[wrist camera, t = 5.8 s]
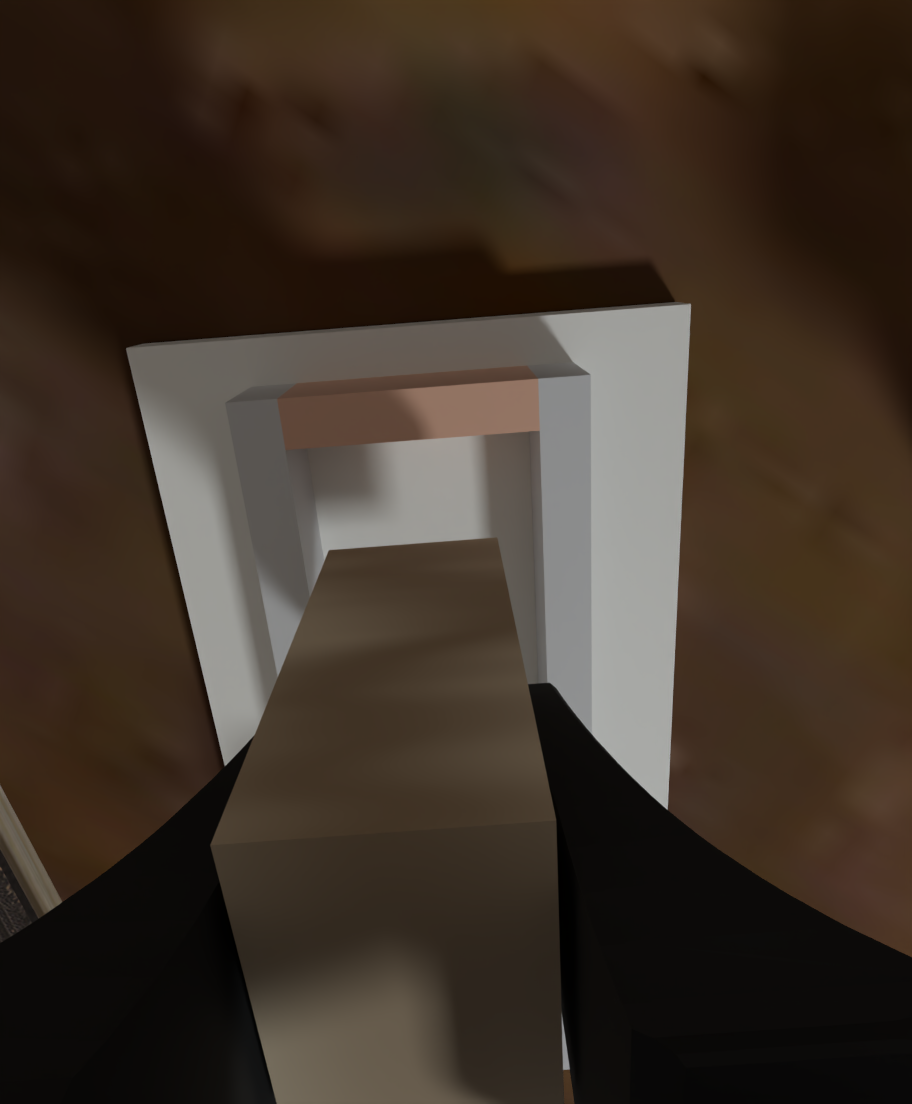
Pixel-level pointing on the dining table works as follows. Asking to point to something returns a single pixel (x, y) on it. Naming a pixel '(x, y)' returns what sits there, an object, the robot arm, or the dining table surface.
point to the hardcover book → (20, 877)
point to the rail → (437, 492)
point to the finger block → (400, 844)
